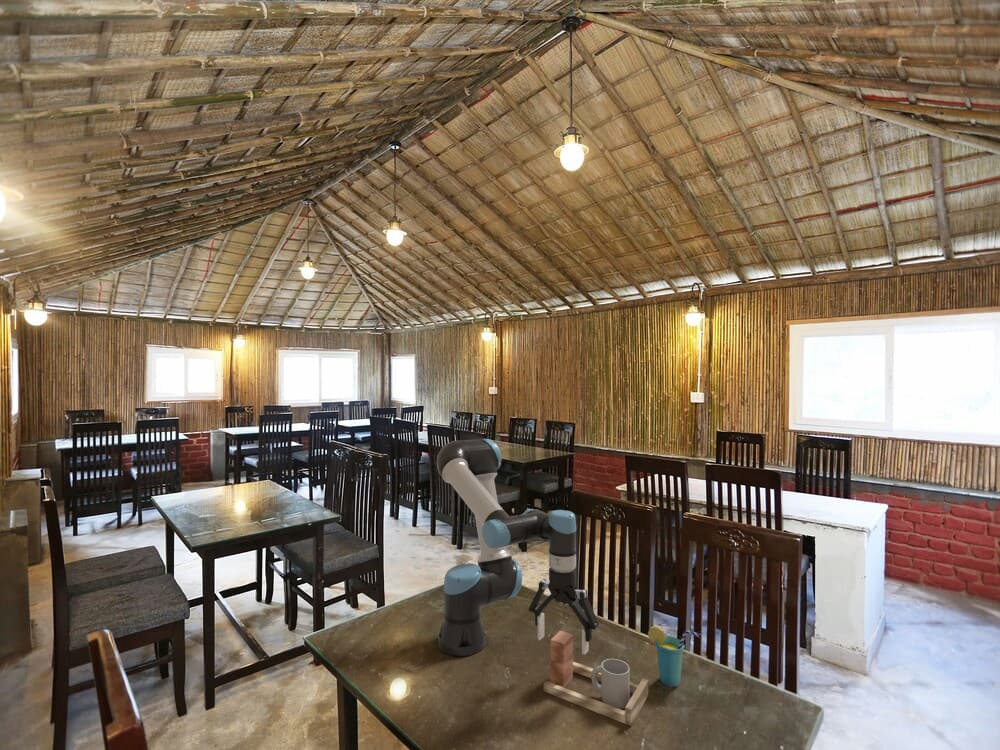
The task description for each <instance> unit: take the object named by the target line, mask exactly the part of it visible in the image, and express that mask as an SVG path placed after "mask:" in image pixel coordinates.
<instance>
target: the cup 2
mask: <svg viewBox="0 0 1000 750" xmlns="http://www.w3.org/2000/svg"><path fill="white" fill-rule="evenodd" d="M688 634H690V635H693V636H695V637H698V638H700V637H701V633H699V632H695V631H693V630H690V629H689V630H688V629H687V630H684V632H683V633H682V636H681V638H680V639H679V638H676V637H673V636H671V635H666V634H665V632H664V630H663V629H661V628H660V627H658V626H650V627H649V630H648V632H647V636H648V639H649V641H650V642H652V643H653V644H654V645H655V646H656V648H657V649H656V651H657V660H658V661H657V662H658V674H659V680H660V682H661V683H662V684H663V685H665V686H667V687H669V688H670V687H671V688H672V687H678V686H679V685H680V684H681V678H682V666H683V658H684V657H683V656H684V650H685V644H684V641H685V639H686V636H687V635H688Z"/></svg>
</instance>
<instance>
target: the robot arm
mask: <svg viewBox="0 0 1000 750" xmlns="http://www.w3.org/2000/svg"><path fill="white" fill-rule="evenodd" d="M501 462H502V453H501V450H500V448H499V446H498V444H497V443H496V442H494V440H492V439H490V438H473V439H464V440H453V441H450V442H448V443H446V444H445V445H443V446H442V448H440V450H439V452H438V455H437V457H436V469H437V472H438V474H439V475H440V477H441V478H442V479H443V481H444V482H445V483H447V484H450V485H451V486H452V488H453V489H454V490H455V492H456V493H457V494H458V495H459V496H460V498H461V500H462V501H463V502H464V503H465V505H466V506H467V507H468V509H470V511H471V512H472V514H473V515H474V518H475V519H474V520H475V525H476V529H477V530H476V531H477V537H478V544H479V550H480V556H479V558H478V559H477V564H476V563H469V562H468V563H467V564H466V563H461V564H457V565H455V566H452V567H451V568H449V570H447V571H446V573H445V575H444V582H443V621H442V624H441V627H440V630H439V633H438V637H437V641H438V642H437V646H438V649H439V650H440V651H441V652H443V653H445V654H447V655H450V656H451V655H452V656H455V657H456V656H457V657H465V656H472V655H474V654H475V655H476V654H477V653H479V652H480V651H482V650H483V649H484V648H485V647H486V644H487V635H486V632H485V629H484V626H483V622H482V618H481V617H482V616H481V609H482V607H484V606H489V605H491V604H494V603H497V602H500V601H507V600H509V599H510V598H513V597H515V596H517V594H518V593H519V592H520V589H521V588H522V585H523V573H522V569H521V566H520V565H519V563H518V561H517V560H516V559H513V557H512V554H511V553H510V552H509V551H507V549H506V548H507V546H511V545H516V544H520V543H526V542H530V541H534V540H542V541H544V542H547V543H548V566H549V568H548V581H547V580H546V579H545V578H543V579H542V580H540V581H539V582H538V587H537V588H538V589H537V591H536V593H535V595H534V596H533V599H532V601H531V603H530V605H529V607H528V611H529V612H532V613H533V614H534V624H535V627H537V640H538V641H541V640H542V639H543V638H545V613H544V612H543V611H544V610H545V609H546V608H547V607H548V605H550V603H552V601H555V602H556V603H562V604H563V605H568V606H569V608H571V610H572V611H573V612H574V614H575V616H576V617H577V619H578V620H579V622H580V623H581V625H582V626H583V627H582V628H581V655H586V654H587V653H588V652H589V651H590V650H589V649H590V648H589V643H590V642H591V640H592V637H593V635H592V634H593V633H592V631H595V630H596V628H598V626H599V621H598V619H597V616H596V614H595V612H594V610H593V607H592V604H591V602H590V600H589V598H588V590H587V589H586V588H583V589H577V585H576V584H577V569H576V568H577V551H576V550H577V521H576V514H575V513H574V512H572V511H570V510H564V509H556V510H552V511H550V512H549V513H547V512H544V511H542V510H539V509H534V508H529V509H528V508H527V509H526V510H525V511H524V512H523V513H521V514H519V515H512V516H510V515H509V514H508V513H507V512H506V511H505V510H504V509H503V507H502V506H501V505H500V504H499V501H498V497H497V490H496V489H497V488H496V483H495V479H496V477H497V476H498V469H500V467H501V465H502V463H501ZM547 589H548V590H549V592H550V594H549V595H548V597H547V598H546V599H545V600H544V601H543V602H542V603H541V604H540V605H539V603H540V602H541V599H542V597H543V595H544V593H545V591H546V590H547ZM579 601H580V603H579ZM580 604H581V605H580ZM538 605H539V606H538Z"/></svg>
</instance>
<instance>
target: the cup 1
mask: <svg viewBox="0 0 1000 750" xmlns="http://www.w3.org/2000/svg"><path fill="white" fill-rule="evenodd" d="M599 672H600V673H601V684H600V683H599V681H598V680H597V676H598V673H599ZM630 672H631V669H630V665H629V664H628V663H627V662H625V661H624V660H621V659H619V658H618V659H617V658H608V659H607V658H606V659H604V660H603V661H602V662H601V665H596V666H594V667H593V670H592V674H591V678H590V679H591V684H592V687H593V688H594V689H595V691H597V693H600V694H601V695H600V696H601V702H602V703H605V704H607V705H610V706H613V707H615V708H618V709H620V710H623V709H625V707H626V706H627V704H628V702H629V700H630V699H631V696H630V694H631V693H630V682H631V679H630V677H631V676H630V674H631V673H630Z"/></svg>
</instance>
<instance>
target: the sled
mask: <svg viewBox="0 0 1000 750" xmlns="http://www.w3.org/2000/svg"><path fill="white" fill-rule="evenodd" d="M549 669H550V670H549V671H550V675H549V676H550V679H549V681H547V680H545V682H544V683H543V692H544V693H547V694H550V695H552V696H555V697H558V699H559V698H560V699H562V700H564V701H566V702H569V703H572V704H575V705H577V706H580V707H582V708H585V709H587V710H590V711H592V712H595V713H597V714H599V715H602V716H604V717H608V718H610V719H612V720H615V721H616V722H620V723H622V724H625V725H627V726H630V727H632V726H633V724H634V722H635V721H636V719H637V717H638V715H639V713H640V711H641V709H642V708H643V706H644V704H645V702H646V700H647V698H648V697H649V679H646V678H642V679H641V680H640V682H639V684H638V683H636V682H633V681H630V694H632V696H630V699H629V702H628V704H627V706H626V707H625V708H624V709H625V710H623V709H618V708H615V707H613V706H610V705H607V704H605V703H604V702H603V701H599V700H597V699H595V698H591V697H589V696H587V695H584V694H581V693H579V692H576V691H573V690H570V689H568V688H566V686H567V685H568V684H569V683H570V681H572V679H573V678H574V673H576V674H578V675H581V676H583V677H587V678H589V679H591V674H592V670H593V669H594V667H590V666H587V665H585V664H582V663H578V662H575V661H574V634H572V633H570V632H566V631H563V630H559V631H558V632H557V633H556V634H555V635H554V636H553V637H552V638H551V639H550V668H549ZM597 680H598V682H601V673H600V672H599V673H598V676H597Z"/></svg>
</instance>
